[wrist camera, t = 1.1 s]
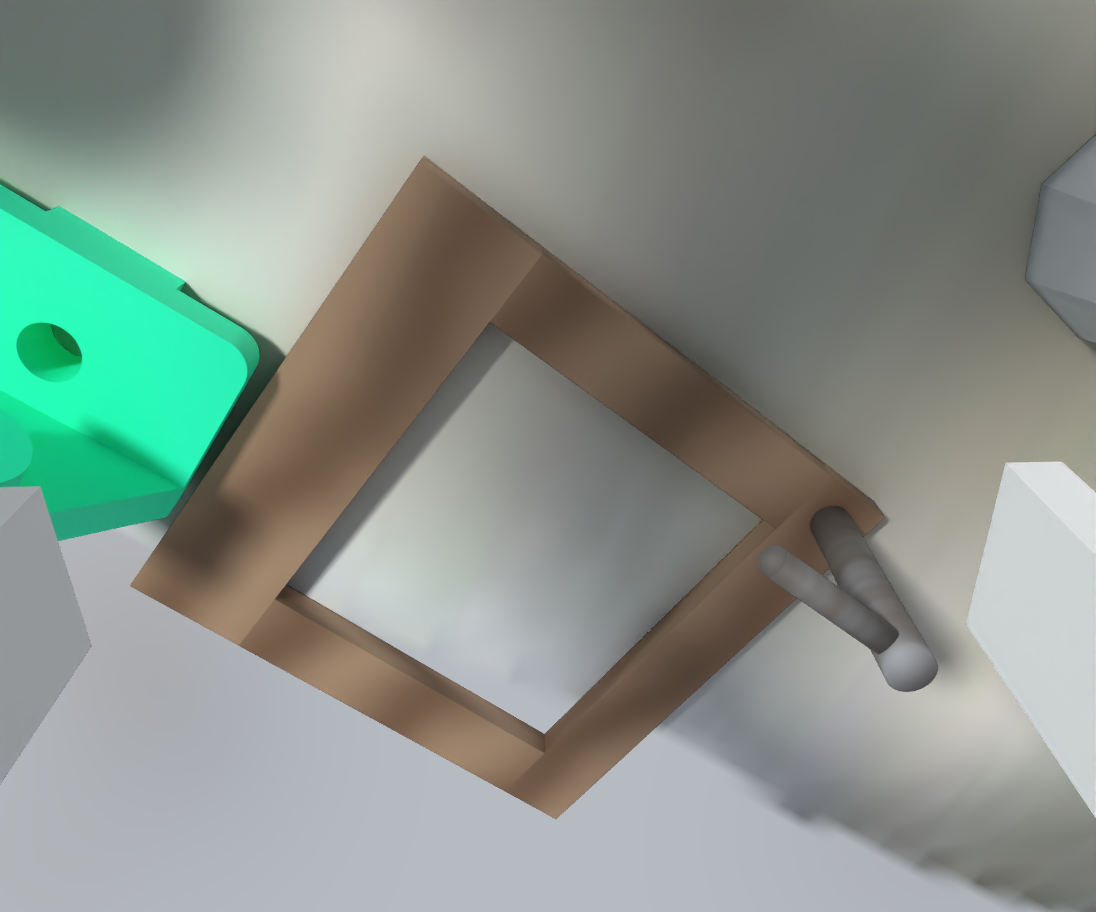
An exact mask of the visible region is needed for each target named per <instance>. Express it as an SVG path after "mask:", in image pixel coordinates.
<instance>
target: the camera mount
mask: <svg viewBox="0 0 1096 912" xmlns="http://www.w3.org/2000/svg"><path fill="white" fill-rule="evenodd" d="M184 284H185V281H184V280H182V279H180V278H179V277H177V276H175V275H174V274H172V273H170V272H169V271H167V270H165V269H164V268H162V267H160V266H159V265H157V264H155V263H154V262H152V261H150V260H149V259H147V258H145V257H143V256H142V255H140V254H138V253H137V252H135V251H133V250H132V249H130V248H128V247H127V246H125V245H123V244H122V243H120V242H118V241H117V240H115V239H113V238H112V237H110V236H108V235H107V234H105V233H103V232H102V231H100V230H98V229H97V228H95V227H93V226H92V225H90V224H88V223H87V222H85V221H83V220H82V219H80V218H78V217H77V216H75V215H73V214H72V213H70V212H68V211H67V210H65V209H63V208H61V207H60V206H58V207H56V208H53V209H51V210H49V211H47V212H46V211H44V210H43V209H41V208H39V207H37V206H36V205H34V204H32V203H31V202H29V201H27V200H26V199H24V198H22V197H21V196H19V195H17V194H16V193H14V192H12V191H11V190H9V189H7V188H5V187H4V186H2V185H0V487H32V486H40V487H41V490H42V493H43V496H44V500H45V503H46V506H47V509H48V512H49V515H50V518H51V521H52V524H53V527H54V530H55V534H56V537H57V540H58V541H60V540H65V539H69V538H74V537H78V536H83V535H88V534H92V533H97V532H101V531H106V530H110V529H115V528H120V527H124V526H129V525H133V524H138V523H142V522H147V521H152V520H156V519H161V518H165V517H167V516H168V515H169V513H170V512H171V511H172V509H173V508H174V506H175V505H176V504H177V502H178V501H179V500H180V498H181V497H182V495H183V493H184V491H185V490H186V488H187V486H188V485H189V483H190V481H191V479H192V478H193V476H194V474H195V473H196V471H197V469H198V467H199V466H200V464H201V462H202V461H203V459H204V457H205V455H206V454H207V452H208V450H209V448H210V447H211V445H212V443H213V442H214V440H215V438H216V436H217V435H218V433H219V431H220V430H221V428H222V426H223V424H224V423H225V421H226V419H227V418H228V416H229V414H230V412H231V411H232V409H233V407H234V405H235V404H236V402H237V400H238V399H239V397H240V395H241V393H242V392H243V390H244V388H245V387H246V385H247V383H248V381H249V380H250V378H251V376H252V374H253V373H254V371H255V369H256V368H257V366H258V363H259V349H258V346H257V343H256V341H255V340H254V338H253V337H252V336H251V335H250V334H249V333H248V332H247V331H246V330H245V329H243V328H241V327H240V326H238V325H236V324H235V323H233V322H231V321H230V320H228V319H226V318H225V317H223V316H221V315H219V314H218V313H216V312H214V311H213V310H211V309H209V308H208V307H206V306H204V305H203V304H201V303H199V302H198V301H196V300H194V299H192V298H191V297H189V296H187V295H186V294H184V293H182V292H181V289H182V288H183V286H184ZM51 324H54V325H56V326H58V327H60V328H62V329H64V330H65V331H67V332H68V333H69V334H70V335H71V336H72V337H73V338H74V339H75V341H76V342H77V344H78V346H79V348H80V350H81V354H82V357H80V356H77V355H74V354H72V353H70V352H69V351H67V350H66V349H64V348H63V347H62V346H61V345H60V344H59V343H58V341H57V340H56V338H55V336H54V334H53V332H52V328H51Z"/></svg>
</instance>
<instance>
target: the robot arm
mask: <svg viewBox="0 0 1096 912" xmlns="http://www.w3.org/2000/svg"><path fill="white" fill-rule="evenodd" d="M966 625H967V627H968V628H969V630H970V631H971V633H972V634H973V636H974V637H975V638H976V640H977V641H978V643H979V644H980V646H981V647H982V649H983V650H984V652H985V653H986V655H987V656H988V658H989V659H990V661H991V662H992V664H993V665H994V667H995V668H996V670H997V671H998V673H999V674H1000V676H1001V677H1002V679H1003V680H1004V682H1005V683H1006V685H1007V686H1008V688H1009V689H1010V691H1011V692H1012V694H1013V695H1014V697H1015V698H1016V700H1017V701H1018V703H1019V704H1020V706H1021V707H1022V709H1023V710H1024V712H1025V713H1026V715H1027V716H1028V718H1029V719H1030V721H1031V722H1032V724H1033V725H1034V727H1035V728H1036V730H1037V731H1038V733H1039V734H1040V736H1041V737H1042V739H1043V740H1044V742H1045V743H1046V745H1047V746H1048V748H1049V749H1050V751H1051V752H1052V754H1053V755H1054V756H1055V758H1056V759H1057V761H1058V762H1059V764H1060V765H1061V767H1062V768H1063V770H1064V771H1065V773H1066V774H1067V776H1068V777H1069V779H1070V780H1071V782H1072V783H1073V785H1074V786H1075V788H1076V789H1077V791H1078V792H1079V794H1080V795H1081V797H1082V798H1083V800H1084V801H1085V803H1086V804H1087V806H1088V807H1089V809H1090V810H1091V812H1092V813H1093V815H1094V816H1095V818H1096V492H1094V491H1093V490H1092V489H1091V488H1090V487H1089V486H1088V485H1087V484H1086V483H1085V482H1084V481H1082V480H1081V479H1080V478H1079V477H1078V476H1077V475H1076V474H1075V473H1074V472H1073V471H1072V470H1070V469H1069V468H1068V467H1067V466H1066V465H1065V464H1064V463H1063V462H1062V461H1061V462H1020V463H1005V467H1004V471H1003V475H1002V479H1001V483H1000V488H999V492H998V496H997V500H996V504H995V508H994V512H993V516H992V520H991V524H990V528H989V533H988V537H987V541H986V545H985V549H984V553H983V557H982V561H981V565H980V569H979V573H978V578H977V582H976V586H975V590H974V594H973V598H972V602H971V606H970V610H969V614H968V618H967V623H966ZM91 647H92V645H91V642H90V639H89V636H88V632H87V629H86V626H85V623H84V620H83V617H82V614H81V611H80V608H79V605H78V602H77V598H76V595H75V592H74V589H73V586H72V583H71V580H70V577H69V574H68V571H67V568H66V564H65V561H64V559H63V555H62V552H61V549H60V546H59V543H58V540H57V537H56V534H55V530H54V527H53V524H52V521H51V518H50V515H49V512H48V509H47V506H46V503H45V500H44V496H43V493H42V490H41V487H40V486H32V487H0V784H1V783H2V781H3V780H4V778H5V777H6V775H7V774H8V772H9V770H10V769H11V768H12V766H13V765H14V763H15V762H16V760H17V759H18V757H19V756H20V754H21V752H22V751H23V749H24V748H25V747H26V745H27V744H28V742H29V741H30V739H31V737H32V736H33V734H34V733H35V731H36V730H37V728H38V727H39V725H40V724H41V722H42V721H43V719H44V718H45V716H46V715H47V713H48V712H49V710H50V709H51V707H52V705H53V704H54V703H55V701H56V700H57V698H58V697H59V695H60V694H61V692H62V691H63V689H64V688H65V686H66V684H67V683H68V682H69V680H70V679H71V677H72V675H73V674H74V672H75V671H76V669H77V668H78V666H79V665H80V663H81V662H82V660H83V659H84V657H85V656H86V654H87V653H88V651H89V650H90V648H91Z"/></svg>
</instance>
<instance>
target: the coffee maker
mask: <svg viewBox="0 0 1096 912" xmlns="http://www.w3.org/2000/svg"><path fill="white" fill-rule="evenodd" d="M1025 280H1026V281H1027V282H1028V283H1029V284H1030V286H1031V287H1032V288H1033V289H1034V290H1035V291H1036V292H1037V293H1038V294H1039V295H1040V296H1041V297H1042V299H1043V300H1044V301H1045V302H1046V303H1047V304H1048V305H1049V306H1050V307H1051V308H1052V309H1053V310H1054V312H1055V313H1056V314H1057V315H1058V316H1059V317H1060V318H1061V319H1062V320H1063V321H1064V322H1065V323H1066V325H1067V326H1068V327H1069V328H1070V329H1071V330H1072V331H1073V332H1074V333H1075V334H1076V335H1077V336H1078V337H1079V338H1081V339H1084V340H1087V341H1090V342H1094V343H1096V135H1094V136H1093V137H1092V138H1091V139H1090V140H1089V141H1088V142H1087V143H1086V144H1085V145H1084V146H1083V147H1081V148H1080V149H1079V150H1078V151H1077V152H1076V153H1075V154H1074V155H1073V156H1072V157H1071V158H1069V159H1068V160H1067V161H1066V162H1065V163H1064V164H1063V165H1062V166H1061V167H1060V168H1059V169H1058V170H1056V171H1055V172H1054V173H1053V174H1052V175H1051V176H1050V177H1049V178H1048V179H1047V180H1046V181H1045V182H1043V183H1042V185H1041V191H1040V197H1039V202H1038V208H1037V214H1036V220H1035V225H1034V231H1033V237H1032V243H1031V248H1030V254H1029V260H1028V266H1027V271H1026V277H1025Z"/></svg>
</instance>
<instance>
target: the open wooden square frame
mask: <svg viewBox="0 0 1096 912" xmlns="http://www.w3.org/2000/svg"><path fill="white" fill-rule="evenodd" d="M489 322H491V323H492V324H493V325H495V326H496V327H497V328H499V329H500V330H502V331H503V332H504V333H506V334H507V335H509V336H510V337H511V338H513V339H514V340H515V341H517V342H518V343H520V344H521V345H522V346H524V347H525V348H527V349H528V350H529V351H531V352H532V353H533V354H535V355H536V356H538V357H539V358H540V359H542V360H543V361H544V362H546V363H547V364H549V365H550V366H551V367H553V368H554V369H556V370H557V371H558V372H560V373H561V374H562V375H564V376H565V377H567V378H568V379H569V380H571V381H572V382H573V383H575V384H576V385H578V386H579V387H580V388H582V389H583V390H585V391H586V392H587V393H589V394H590V395H591V396H593V397H594V398H596V399H597V400H598V401H600V402H601V403H603V404H604V405H605V406H607V407H608V408H609V409H611V410H612V411H614V412H615V413H616V414H618V415H619V416H620V417H622V418H623V419H625V420H626V421H627V422H629V423H630V424H632V425H633V426H634V427H636V428H637V429H638V430H640V431H641V432H643V433H644V434H645V435H647V436H648V437H649V438H651V439H652V440H654V441H655V442H656V443H658V444H659V445H661V446H662V447H663V448H665V449H666V450H667V451H669V452H670V453H672V454H673V455H674V456H676V457H677V458H678V459H680V460H681V461H683V462H684V463H685V464H687V465H688V466H690V467H691V468H692V469H694V470H695V471H696V472H698V473H699V474H701V475H702V476H703V477H705V478H706V479H708V480H709V481H710V482H712V483H713V484H714V485H716V486H717V487H719V488H720V489H721V490H723V491H724V492H725V493H727V494H728V495H730V496H731V497H732V498H734V499H735V500H737V501H738V502H739V503H741V504H742V505H743V506H745V507H746V508H748V509H749V510H750V511H752V512H753V513H754V514H756V515H757V516H759V517H760V518H761V519H763V521H762V522H761V523H760V524H759V525H758V526H757V527H755V528H754V529H753V530H752V531H751V532H750V533H749V534H748V535H747V536H746V537H745V538H744V539H743V540H742V541H741V542H740V543H739V544H738V545H737V546H736V547H735V548H734V549H733V550H732V551H731V552H730V553H729V554H728V555H727V556H726V557H725V558H724V559H723V560H722V561H721V562H720V563H719V564H718V565H717V566H716V567H715V568H714V569H713V570H712V571H711V572H710V573H709V574H708V575H707V576H705V577H704V578H703V579H702V580H701V581H700V582H699V583H698V584H697V585H696V586H695V587H694V588H693V589H692V590H691V591H690V592H689V593H688V594H687V595H686V596H685V597H684V598H683V599H682V600H681V601H680V602H679V603H678V604H677V605H676V606H675V607H674V608H673V609H672V610H671V611H670V612H669V613H668V614H667V615H666V616H665V617H664V618H663V619H662V620H661V621H660V622H659V623H658V624H656V625H655V626H654V627H653V628H652V629H651V630H650V631H649V632H648V633H647V634H646V635H645V636H644V637H643V638H642V639H641V640H640V641H639V642H638V643H637V644H636V645H635V646H634V647H633V648H632V649H631V650H630V651H629V652H628V653H627V654H626V655H625V656H624V657H623V658H622V659H621V660H620V661H619V662H618V663H617V664H616V665H615V666H614V667H613V668H612V669H611V670H610V671H609V672H607V673H606V674H605V675H604V676H603V677H602V678H601V679H600V680H599V681H598V682H597V683H596V684H595V685H594V686H593V687H592V688H591V689H590V690H589V691H588V692H587V693H586V694H585V695H584V696H583V697H582V698H581V699H580V700H579V701H578V702H577V703H576V704H575V705H574V706H573V707H572V708H571V709H570V710H569V711H568V712H567V713H566V714H565V715H564V716H563V717H562V718H561V719H560V720H558V721H557V722H556V723H555V724H554V725H553V726H552V728H550V729H549V730H548V731H547V732H546V733H545V734H543V733H542V732H540V731H538V730H536V729H535V728H533V727H531V726H529V725H528V724H526V723H524V722H523V721H521V720H519V719H517V718H516V717H514V716H512V715H510V714H508V713H507V712H505V711H504V710H502V709H500V708H498V707H497V706H495V705H493V704H491V703H490V702H488V701H486V700H484V699H483V698H481V697H479V696H478V695H476V694H474V693H472V692H471V691H469V690H467V689H465V688H464V687H462V686H460V685H458V684H457V683H455V682H453V681H451V680H450V679H448V678H446V677H445V676H443V675H441V674H440V673H438V672H436V671H434V670H433V669H431V668H429V667H427V666H426V665H424V664H422V663H421V662H419V661H417V660H415V659H414V658H412V657H410V656H408V655H407V654H405V653H403V652H401V651H400V650H398V649H396V648H394V647H393V646H391V645H389V644H388V643H386V642H384V641H382V640H381V639H379V638H377V637H376V636H374V635H372V634H370V633H369V632H367V631H365V630H363V629H362V628H360V627H358V626H357V625H355V624H353V623H351V622H350V621H348V620H346V619H344V618H343V617H341V616H339V615H337V614H336V613H334V612H332V611H331V610H329V609H327V608H325V607H324V606H322V605H320V604H318V603H317V602H315V601H313V600H312V599H310V598H308V597H306V596H305V595H303V594H301V593H299V592H298V591H296V590H294V589H293V588H291V587H289V586H287V585H286V584H287V583H288V581H289V580H290V579H291V577H292V576H293V575H294V574H295V572H296V571H297V570H298V568H299V567H300V566H301V565H302V563H303V562H304V561H305V559H306V558H307V557H308V556H309V554H310V553H311V552H312V550H313V549H314V548H315V547H316V545H317V544H318V543H319V541H320V540H321V539H322V538H323V536H324V535H325V534H326V532H327V531H328V530H329V529H330V527H331V526H332V525H333V523H334V522H335V521H336V519H337V518H338V517H339V516H340V514H341V513H342V512H343V510H344V509H345V508H346V507H347V505H348V504H349V503H350V501H351V500H352V499H353V498H354V496H355V495H356V494H357V492H358V491H359V490H360V489H361V487H362V486H363V485H364V483H365V482H366V481H367V480H368V478H369V477H370V476H371V474H372V473H373V472H374V471H375V469H376V468H377V467H378V465H379V464H380V463H381V461H382V460H383V459H384V458H385V456H386V455H387V454H388V452H389V451H390V450H391V449H392V447H393V446H394V445H395V443H396V442H397V441H398V440H399V438H400V437H401V436H402V434H403V433H404V432H405V431H406V429H407V428H408V427H409V425H410V424H411V423H412V422H413V420H414V419H415V418H416V416H417V415H418V414H419V413H420V411H421V410H422V409H423V407H424V406H425V405H426V403H427V402H428V401H429V400H430V398H431V397H432V396H433V394H434V393H435V392H436V391H437V389H438V388H439V387H440V385H441V384H442V383H443V382H444V380H445V379H446V378H447V376H448V375H449V374H450V373H451V371H452V370H453V369H454V367H455V366H456V365H457V364H458V362H459V361H460V360H461V358H462V357H463V356H464V355H465V353H466V352H467V351H468V349H469V348H470V347H471V345H472V344H473V343H474V342H475V340H476V339H477V338H478V336H479V335H480V334H481V333H482V331H483V330H484V329H485V327H486V326H487V325H488V324H489ZM883 518H885V517H884V515H883V514H882V512H881V511H880V509H879V508H878V506H877V505H876V503H875V502H874V501H873V500H871V499H870V498H869V497H868V496H866V495H865V494H864V493H862V492H861V491H860V490H858V489H857V488H856V487H855V486H853V485H852V484H851V483H849V482H848V481H847V480H845V479H844V478H843V477H842V476H840V475H839V474H838V473H836V472H835V471H834V470H832V469H831V468H830V467H829V466H827V465H826V464H825V463H823V462H822V461H821V460H819V459H818V458H817V457H815V456H814V455H813V454H812V453H810V452H809V451H808V450H806V449H805V448H804V447H802V446H801V445H800V444H799V443H797V442H796V441H795V440H793V439H792V438H791V437H789V436H788V435H787V434H786V433H784V432H783V431H782V430H780V429H779V428H778V427H776V426H775V425H774V424H773V423H771V422H770V421H769V420H767V419H766V418H765V417H763V416H762V415H761V414H759V413H758V412H757V411H756V410H754V409H753V408H752V407H750V406H749V405H748V404H746V403H745V402H744V401H743V400H741V399H740V398H739V397H737V396H736V395H735V394H733V393H732V392H731V391H730V390H728V389H727V388H726V387H724V386H723V385H722V384H720V383H719V382H718V381H717V380H715V379H714V378H713V377H711V376H710V375H709V374H707V373H706V372H705V371H703V370H702V369H701V368H700V367H698V366H697V365H696V364H694V363H693V362H692V361H690V360H689V359H688V358H687V357H685V356H684V355H683V354H681V353H680V352H679V351H677V350H676V349H675V348H674V347H672V346H671V345H670V344H668V343H667V342H666V341H664V340H663V339H662V338H661V337H659V336H658V335H657V334H655V333H654V332H653V331H651V330H650V329H649V328H647V327H646V326H645V325H644V324H642V323H641V322H640V321H638V320H637V319H636V318H634V317H633V316H632V315H631V314H629V313H628V312H627V311H625V310H624V309H623V308H621V307H620V306H619V305H618V304H616V303H615V302H614V301H612V300H611V299H610V298H608V297H607V296H606V295H605V294H603V293H602V292H601V291H599V290H598V289H597V288H595V287H594V286H593V285H591V284H590V283H589V282H588V281H586V280H585V279H584V278H582V277H581V276H580V275H578V274H577V273H576V272H575V271H573V270H572V269H571V268H569V267H568V266H567V265H565V264H564V263H563V262H562V261H560V260H559V259H558V258H556V257H555V256H554V255H552V254H551V253H550V252H549V251H547V250H546V249H545V248H543V247H542V246H541V245H539V244H538V243H537V242H535V241H534V240H533V239H532V238H530V237H529V236H528V235H526V234H525V233H524V232H522V231H521V230H520V229H519V228H517V227H516V226H515V225H513V224H512V223H511V222H509V221H508V220H507V219H506V218H504V217H503V216H502V215H500V214H499V213H498V212H496V211H495V210H494V209H493V208H491V207H490V206H489V205H487V204H486V203H485V202H483V201H482V200H481V199H480V198H478V197H477V196H476V195H474V194H473V193H472V192H470V191H469V190H468V189H466V188H465V187H464V186H463V185H461V184H460V183H459V182H457V181H456V180H455V179H453V178H452V177H451V176H450V175H448V174H447V173H446V172H444V171H443V170H442V169H440V168H439V167H438V166H437V165H435V164H434V163H433V162H431V161H430V160H429V159H427V158H426V157H425V156H424V157H423V158H422V159H421V161H420V162H419V163H418V165H417V166H416V168H415V169H414V171H413V172H412V174H411V175H410V177H409V178H408V179H407V181H406V182H405V184H404V185H403V187H402V188H401V190H400V191H399V193H398V194H397V196H396V197H395V199H394V200H393V201H392V203H391V204H390V206H389V207H388V209H387V210H386V212H385V213H384V215H383V216H382V218H381V219H380V220H379V222H378V223H377V225H376V226H375V228H374V229H373V231H372V232H371V234H370V235H369V237H368V238H367V239H366V241H365V242H364V244H363V245H362V247H361V248H360V250H359V251H358V253H357V254H356V256H355V257H354V259H353V260H352V261H351V263H350V264H349V266H348V267H347V269H346V270H345V272H344V273H343V275H342V276H341V278H340V279H339V280H338V282H337V283H336V285H335V286H334V288H333V289H332V291H331V292H330V294H329V295H328V297H327V298H326V299H325V301H324V302H323V304H322V305H321V307H320V308H319V310H318V311H317V313H316V314H315V316H314V317H313V319H312V320H311V321H310V323H309V324H308V326H307V327H306V329H305V330H304V332H303V333H302V335H301V336H300V338H299V339H298V340H297V342H296V343H295V345H294V346H293V348H292V349H291V351H290V352H289V354H288V355H287V357H286V358H285V359H284V361H283V362H282V364H281V365H280V367H279V368H278V370H277V371H276V373H275V374H274V376H273V377H272V379H271V380H270V381H269V383H268V384H267V386H266V387H265V389H264V390H263V392H262V393H261V395H260V396H259V398H258V399H257V400H256V402H255V403H254V405H253V406H252V408H251V409H250V411H249V412H248V414H247V415H246V417H245V418H244V419H243V421H242V422H241V424H240V425H239V427H238V428H237V430H236V431H235V433H234V434H233V436H232V437H231V439H230V440H229V441H228V443H227V444H226V446H225V447H224V449H223V450H222V452H221V453H220V455H219V456H218V458H217V459H216V460H215V462H214V463H213V465H212V466H211V468H210V469H209V471H208V472H207V474H206V475H205V477H204V478H203V479H202V481H201V482H200V484H199V485H198V487H197V488H196V490H195V491H194V493H193V494H192V496H191V497H190V499H189V500H188V501H187V503H186V504H185V506H184V507H183V509H182V510H181V512H180V513H179V515H178V516H177V518H176V519H175V520H174V522H173V523H172V525H171V526H170V528H169V529H168V531H167V532H166V534H165V535H164V537H163V538H162V539H161V541H160V542H159V544H158V545H157V547H156V548H155V550H154V551H153V553H152V554H151V556H150V557H149V559H148V560H147V561H146V563H145V565H144V566H143V567H142V569H141V570H140V572H139V573H138V575H137V576H136V578H135V579H134V581H133V582H132V583H131V585H130V586H131V587H133V588H135V589H137V590H138V591H140V592H142V593H144V594H146V595H148V596H149V597H151V598H153V599H155V600H157V601H158V602H160V603H162V604H164V605H166V606H167V607H169V608H171V609H173V610H175V611H177V612H178V613H180V614H182V615H184V616H186V617H188V618H189V619H191V620H193V621H195V622H197V623H199V624H200V625H202V626H204V627H206V628H208V629H210V630H212V631H213V632H215V633H217V634H219V635H221V636H222V637H224V638H226V639H228V640H230V641H231V642H233V643H235V644H237V645H239V646H241V647H242V648H244V649H246V650H248V651H250V652H252V653H254V654H255V655H257V656H259V657H261V658H262V659H264V660H266V661H268V662H270V663H272V664H273V665H275V666H277V667H279V668H281V669H283V670H284V671H286V672H288V673H290V674H292V675H293V676H295V677H297V678H299V679H301V680H303V681H304V682H306V683H308V684H310V685H312V686H314V687H315V688H318V689H319V690H321V691H323V692H325V693H326V694H328V695H330V696H332V697H334V698H336V699H338V700H339V701H341V702H343V703H345V704H346V705H348V706H350V707H352V708H354V709H356V710H357V711H359V712H361V713H363V714H365V715H367V716H369V717H370V718H372V719H374V720H376V721H377V722H379V723H381V724H383V725H385V726H387V727H388V728H390V729H392V730H394V731H396V732H398V733H399V734H401V735H403V736H405V737H407V738H409V739H411V740H412V741H414V742H416V743H418V744H420V745H421V746H423V747H425V748H427V749H429V750H430V751H433V752H434V753H436V754H438V755H440V756H442V757H443V758H445V759H447V760H449V761H451V762H452V763H454V764H456V765H458V766H460V767H462V768H464V769H465V770H467V771H469V772H471V773H472V774H474V775H476V776H478V777H480V778H482V779H483V780H485V781H487V782H489V783H491V784H493V785H494V786H496V787H498V788H500V789H502V790H504V791H505V792H507V793H509V794H511V795H513V796H514V797H516V798H518V799H520V800H522V801H524V802H525V803H527V804H529V805H531V806H533V807H535V808H536V809H539V810H540V811H542V812H544V813H546V814H547V815H549V816H551V817H553V818H555V819H557V818H558V817H559V816H560V815H561V814H562V813H563V812H564V811H566V809H568V808H569V807H570V806H571V805H572V804H573V803H574V802H575V801H576V800H578V798H580V797H581V796H582V795H583V794H584V793H585V792H586V791H587V790H588V789H589V788H591V787H592V786H593V785H594V784H595V783H596V782H597V781H598V780H599V779H600V778H601V777H602V776H604V775H605V774H606V773H607V772H608V771H609V770H610V769H611V768H612V767H613V766H614V765H616V764H617V763H618V762H619V761H620V760H621V759H622V758H623V757H624V756H625V755H627V754H628V753H629V752H630V751H631V750H632V749H633V748H634V747H635V746H636V745H637V744H638V743H639V742H640V741H642V740H643V739H644V738H645V737H646V736H647V735H648V734H649V733H650V732H652V731H653V730H654V729H655V728H656V727H657V726H658V725H659V724H660V723H661V722H662V721H664V720H665V719H666V718H667V717H668V716H669V715H670V714H671V713H672V712H673V711H674V710H675V709H677V708H678V707H679V706H680V705H681V704H682V703H683V702H684V701H685V700H686V699H687V698H689V697H690V696H691V695H692V694H693V693H694V692H695V691H696V690H697V689H698V688H699V687H701V686H702V685H703V684H704V683H705V682H706V681H707V680H708V679H709V678H710V677H711V676H713V675H714V674H715V673H716V672H717V671H718V670H719V669H720V668H721V667H722V666H723V665H724V664H726V663H727V662H728V661H729V660H730V659H731V658H732V657H733V656H734V655H735V654H736V653H738V652H739V651H740V650H741V649H742V648H743V647H744V646H745V645H746V644H747V643H748V642H750V641H751V640H752V639H753V638H754V637H755V636H756V635H757V634H758V633H759V632H760V631H762V630H763V629H764V628H765V627H766V626H767V625H768V624H769V623H770V622H771V621H772V620H773V619H775V618H776V617H777V616H778V615H779V614H780V613H781V612H782V611H783V610H784V609H785V608H787V607H788V606H789V605H790V604H791V603H792V602H793V601H794V600H795V599H796V598H798V599H800V600H801V601H802V602H804V603H805V604H807V605H808V606H810V607H811V608H812V609H814V610H815V611H817V612H818V613H819V614H821V615H822V616H824V617H825V618H827V619H828V620H829V621H831V622H832V623H834V624H835V625H837V626H838V627H839V628H841V629H842V630H844V631H845V632H847V633H848V634H849V635H851V636H852V637H854V638H855V639H857V640H858V641H859V642H861V643H862V644H864V645H865V646H867V647H868V648H869V649H870V650H871V652H872V654H873V655H874V657H875V659H876V661H877V663H878V665H879V667H880V669H881V671H882V673H883V675H884V677H885V679H886V681H887V683H888V684H889V686H891V687H892V688H893V689H895V690H898V691H903V692H910V691H916V690H919V689H921V688H923V687H925V686H927V685H928V684H929V683H930V682H932V680H933V679H934V678H935V676H936V674H937V671H938V665H937V661H936V660H935V658H934V656H933V655H932V653H931V651H930V650H929V648H928V646H927V645H926V643H925V641H924V639H923V638H922V636H921V634H920V633H919V631H918V629H917V628H916V626H915V624H914V623H913V621H912V619H911V618H910V616H909V614H908V612H907V611H906V609H905V607H904V606H903V604H902V602H901V601H900V599H899V597H898V596H897V594H896V592H895V591H894V589H893V587H892V585H891V584H890V582H889V580H888V579H887V577H886V575H885V574H884V572H883V570H882V569H881V567H880V565H879V564H878V562H877V560H876V558H875V557H874V555H873V553H872V552H871V550H870V548H869V547H868V545H867V543H866V542H865V540H864V538H863V537H864V536H865V535H866V534H867V533H868V532H869V531H870V530H871V529H873V528H874V527H875V526H876V525H877V524H878V523H879V522H880V521H881V520H882V519H883ZM829 568H830V570H831V572H832V574H833V576H834V578H835V580H836V582H837V584H838V586H839V587H838V586H836V585H835V584H834V583H832V582H831V581H829V580H828V579H827V578H825V577H824V576H822V574H824V573H825V572H826V571H827V570H828V569H829Z"/></svg>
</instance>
